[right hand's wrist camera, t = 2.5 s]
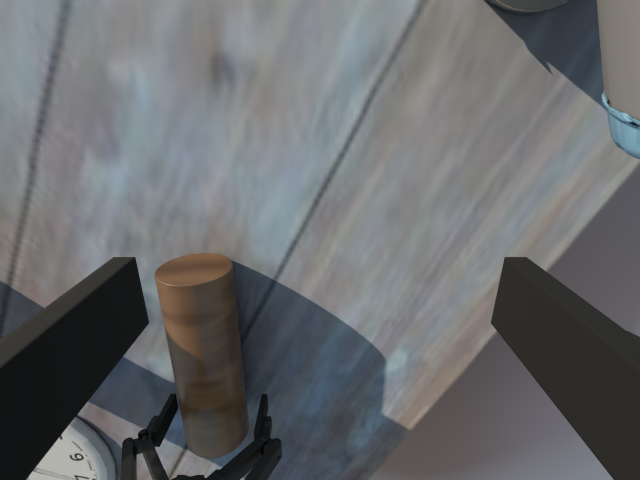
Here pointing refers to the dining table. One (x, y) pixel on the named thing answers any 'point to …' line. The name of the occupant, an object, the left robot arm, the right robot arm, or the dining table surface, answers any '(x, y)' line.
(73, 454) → the wall clock
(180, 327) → the rod
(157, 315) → the dining table surface
